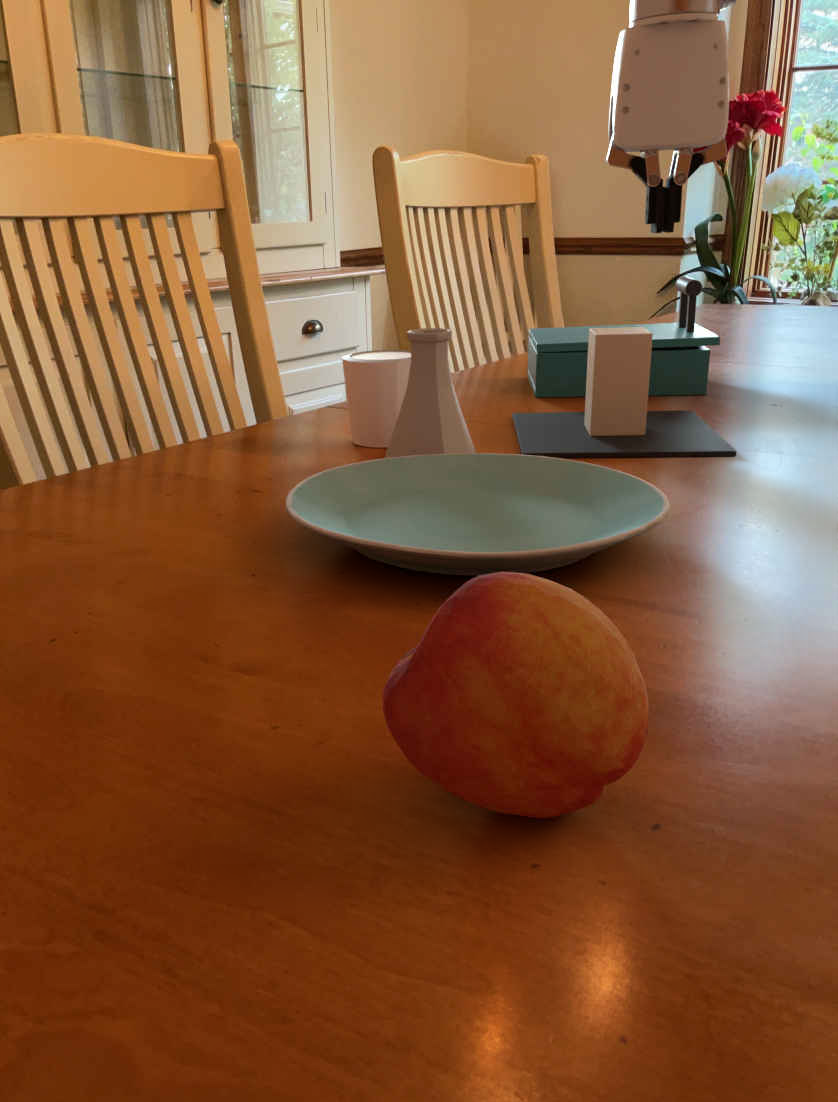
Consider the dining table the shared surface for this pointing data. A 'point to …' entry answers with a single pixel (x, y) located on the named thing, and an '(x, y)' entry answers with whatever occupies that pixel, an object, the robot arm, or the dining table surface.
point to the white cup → (375, 393)
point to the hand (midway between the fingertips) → (661, 231)
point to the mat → (618, 437)
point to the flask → (429, 402)
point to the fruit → (519, 698)
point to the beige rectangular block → (617, 381)
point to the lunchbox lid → (663, 333)
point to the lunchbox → (667, 376)
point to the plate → (476, 510)
